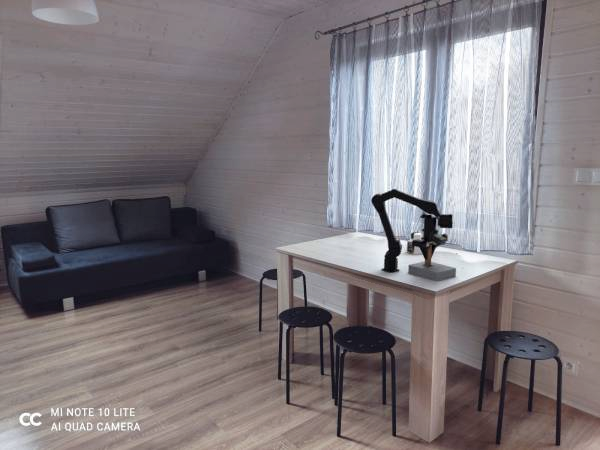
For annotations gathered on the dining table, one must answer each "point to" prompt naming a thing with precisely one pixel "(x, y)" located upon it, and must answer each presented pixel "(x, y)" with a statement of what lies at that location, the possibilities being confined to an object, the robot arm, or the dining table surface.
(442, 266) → the hole block
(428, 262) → the terracotta peg
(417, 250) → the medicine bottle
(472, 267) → the dining table surface
